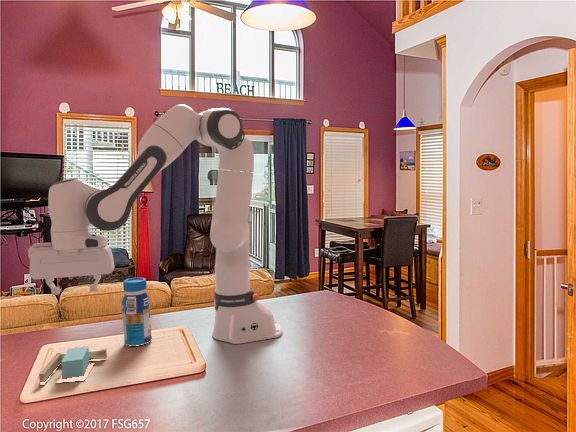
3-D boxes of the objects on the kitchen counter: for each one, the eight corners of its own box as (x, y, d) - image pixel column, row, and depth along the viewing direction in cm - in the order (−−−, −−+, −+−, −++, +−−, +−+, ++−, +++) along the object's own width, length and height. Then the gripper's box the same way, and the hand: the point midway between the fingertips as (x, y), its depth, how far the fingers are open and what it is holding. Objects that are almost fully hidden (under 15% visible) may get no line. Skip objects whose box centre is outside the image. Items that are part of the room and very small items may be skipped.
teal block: (83, 378, 113) (82, 359, 113) (62, 380, 112) (61, 361, 112) (89, 363, 122) (88, 346, 122) (69, 366, 121) (68, 348, 120)
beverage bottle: (119, 343, 138) (115, 280, 136) (143, 335, 144) (140, 275, 142) (132, 350, 132) (128, 284, 130) (157, 341, 138) (154, 279, 136)
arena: (107, 358, 126) (106, 348, 126) (95, 380, 113) (94, 368, 112) (57, 363, 124) (57, 353, 123) (39, 385, 110) (39, 374, 110)
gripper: (22, 245, 110) (27, 299, 112) (108, 240, 114) (112, 292, 115) (32, 241, 116) (36, 293, 118) (113, 237, 120) (117, 286, 122)
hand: (75, 292), depth 117 cm, fingers open, 8 cm apart
